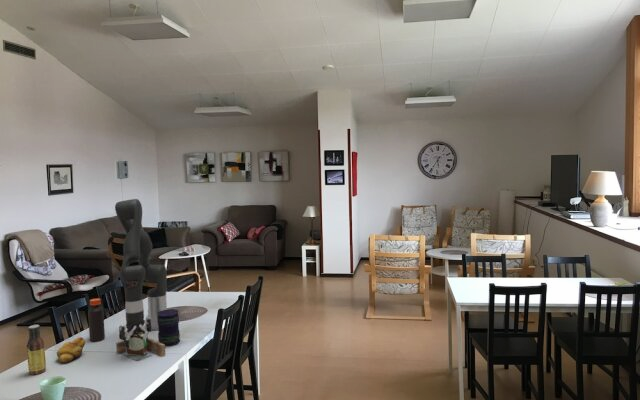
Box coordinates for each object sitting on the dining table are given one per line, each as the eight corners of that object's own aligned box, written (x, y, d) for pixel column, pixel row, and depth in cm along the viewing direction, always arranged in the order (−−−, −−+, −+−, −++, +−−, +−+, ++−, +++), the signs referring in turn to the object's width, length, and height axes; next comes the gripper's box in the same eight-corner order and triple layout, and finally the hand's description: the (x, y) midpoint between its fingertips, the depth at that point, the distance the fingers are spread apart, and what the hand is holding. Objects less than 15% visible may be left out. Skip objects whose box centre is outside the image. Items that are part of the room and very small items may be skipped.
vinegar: (108, 338, 233) (105, 298, 232) (96, 342, 227) (94, 302, 225) (98, 336, 236) (96, 297, 234) (86, 340, 230) (84, 300, 228)
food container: (155, 349, 214) (152, 329, 212) (147, 356, 208) (143, 336, 206) (133, 346, 218) (129, 327, 215) (124, 353, 212) (120, 333, 210)
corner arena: (116, 353, 213) (116, 342, 213) (141, 345, 223) (141, 334, 222) (139, 364, 201) (139, 353, 200) (165, 355, 210) (164, 344, 210)
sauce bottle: (33, 369, 198) (30, 323, 197) (49, 368, 199) (46, 322, 197) (25, 376, 192) (22, 328, 190) (41, 375, 192) (38, 328, 191)
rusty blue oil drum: (184, 340, 228) (182, 310, 227) (171, 347, 219) (170, 316, 218) (167, 338, 231) (165, 308, 230) (153, 345, 222) (152, 314, 221)
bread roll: (71, 364, 202) (70, 346, 202) (49, 364, 203) (48, 346, 202) (87, 352, 215) (86, 335, 215) (67, 352, 216) (66, 335, 215)
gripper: (123, 315, 202) (125, 352, 203) (153, 307, 213) (155, 341, 214) (114, 312, 207) (116, 348, 208) (144, 304, 218) (146, 338, 219)
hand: (136, 344), depth 211 cm, fingers open, 8 cm apart
